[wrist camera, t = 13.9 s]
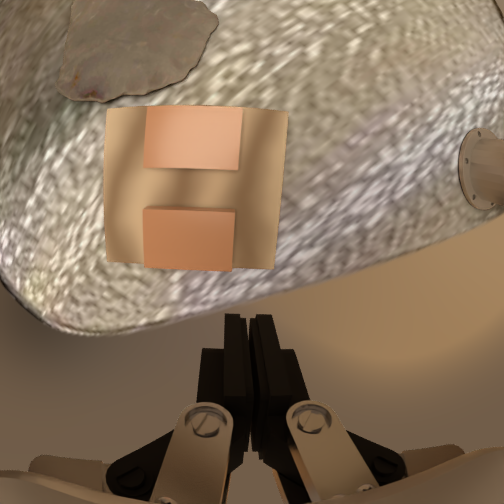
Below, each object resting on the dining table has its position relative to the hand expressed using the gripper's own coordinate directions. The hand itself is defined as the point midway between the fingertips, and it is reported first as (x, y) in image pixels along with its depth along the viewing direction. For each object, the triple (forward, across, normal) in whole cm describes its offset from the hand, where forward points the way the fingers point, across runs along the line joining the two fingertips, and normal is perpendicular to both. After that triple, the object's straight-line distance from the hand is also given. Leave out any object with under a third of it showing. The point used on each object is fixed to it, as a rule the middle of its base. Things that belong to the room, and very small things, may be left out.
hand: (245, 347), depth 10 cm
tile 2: (+19, 0, +2) cm, 19 cm away
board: (+22, +5, -3) cm, 22 cm away
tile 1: (+19, 0, -8) cm, 21 cm away
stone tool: (+22, +15, -25) cm, 36 cm away
